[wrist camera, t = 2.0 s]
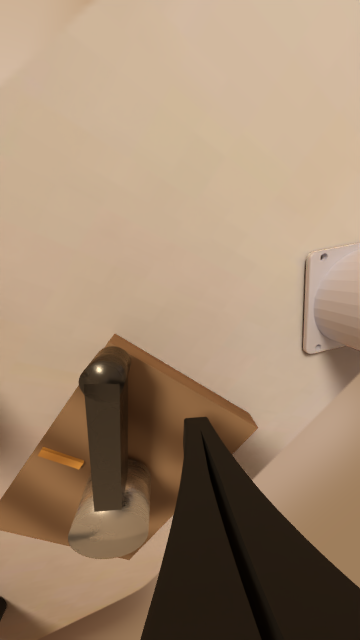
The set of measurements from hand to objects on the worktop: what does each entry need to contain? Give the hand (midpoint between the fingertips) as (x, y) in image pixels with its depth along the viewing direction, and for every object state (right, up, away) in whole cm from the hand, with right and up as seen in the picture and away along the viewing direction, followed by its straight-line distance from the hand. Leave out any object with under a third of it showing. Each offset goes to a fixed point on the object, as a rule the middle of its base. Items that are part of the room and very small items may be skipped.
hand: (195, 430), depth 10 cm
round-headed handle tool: (-5, -2, +3) cm, 6 cm away
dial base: (-6, -6, +6) cm, 10 cm away
